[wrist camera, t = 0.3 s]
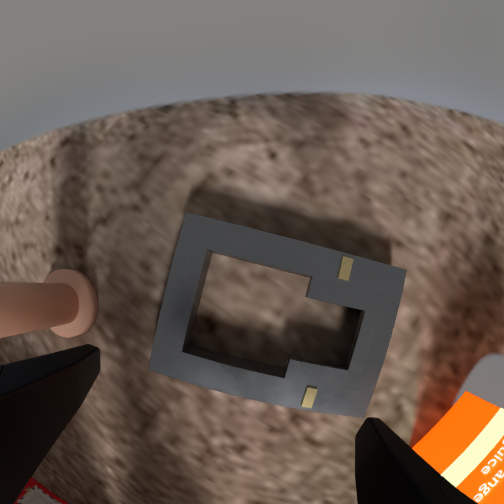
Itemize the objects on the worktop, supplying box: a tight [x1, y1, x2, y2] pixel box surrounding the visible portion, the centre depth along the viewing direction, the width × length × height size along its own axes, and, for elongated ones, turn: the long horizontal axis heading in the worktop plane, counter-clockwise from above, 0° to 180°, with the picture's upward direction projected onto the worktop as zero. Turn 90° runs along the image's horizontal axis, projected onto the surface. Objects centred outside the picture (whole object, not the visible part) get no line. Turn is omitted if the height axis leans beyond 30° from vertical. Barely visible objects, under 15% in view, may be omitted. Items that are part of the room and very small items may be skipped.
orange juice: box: [412, 391, 504, 504], centre depth 12 cm, size 8×9×20 cm
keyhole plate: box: [148, 212, 407, 417], centre depth 22 cm, size 17×12×3 cm
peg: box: [0, 269, 98, 338], centre depth 16 cm, size 6×6×15 cm
